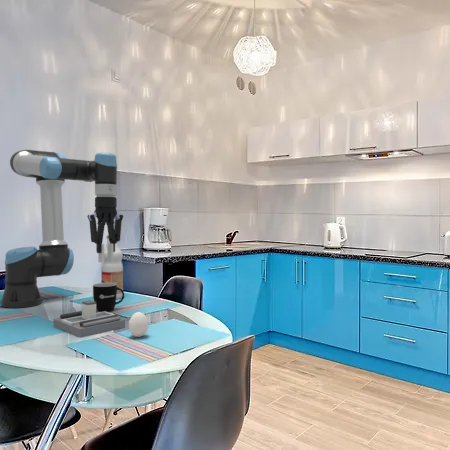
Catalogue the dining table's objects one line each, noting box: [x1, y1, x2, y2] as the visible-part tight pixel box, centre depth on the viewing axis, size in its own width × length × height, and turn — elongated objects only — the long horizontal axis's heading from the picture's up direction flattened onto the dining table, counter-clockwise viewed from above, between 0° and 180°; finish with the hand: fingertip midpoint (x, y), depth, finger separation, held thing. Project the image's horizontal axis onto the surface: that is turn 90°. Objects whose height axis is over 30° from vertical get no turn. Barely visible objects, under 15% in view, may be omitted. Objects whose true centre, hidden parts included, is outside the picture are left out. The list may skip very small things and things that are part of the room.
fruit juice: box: [100, 234, 124, 300], centre depth 190 cm, size 9×9×28 cm
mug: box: [92, 282, 125, 313], centre depth 167 cm, size 12×9×10 cm
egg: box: [128, 311, 150, 338], centre depth 131 cm, size 6×6×8 cm
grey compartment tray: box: [52, 311, 126, 338], centre depth 142 cm, size 18×16×3 cm
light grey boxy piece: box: [81, 300, 96, 320], centre depth 142 cm, size 4×3×6 cm
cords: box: [59, 308, 122, 327], centre depth 142 cm, size 13×16×2 cm
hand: (105, 261), depth 153 cm, fingers open, 3 cm apart
